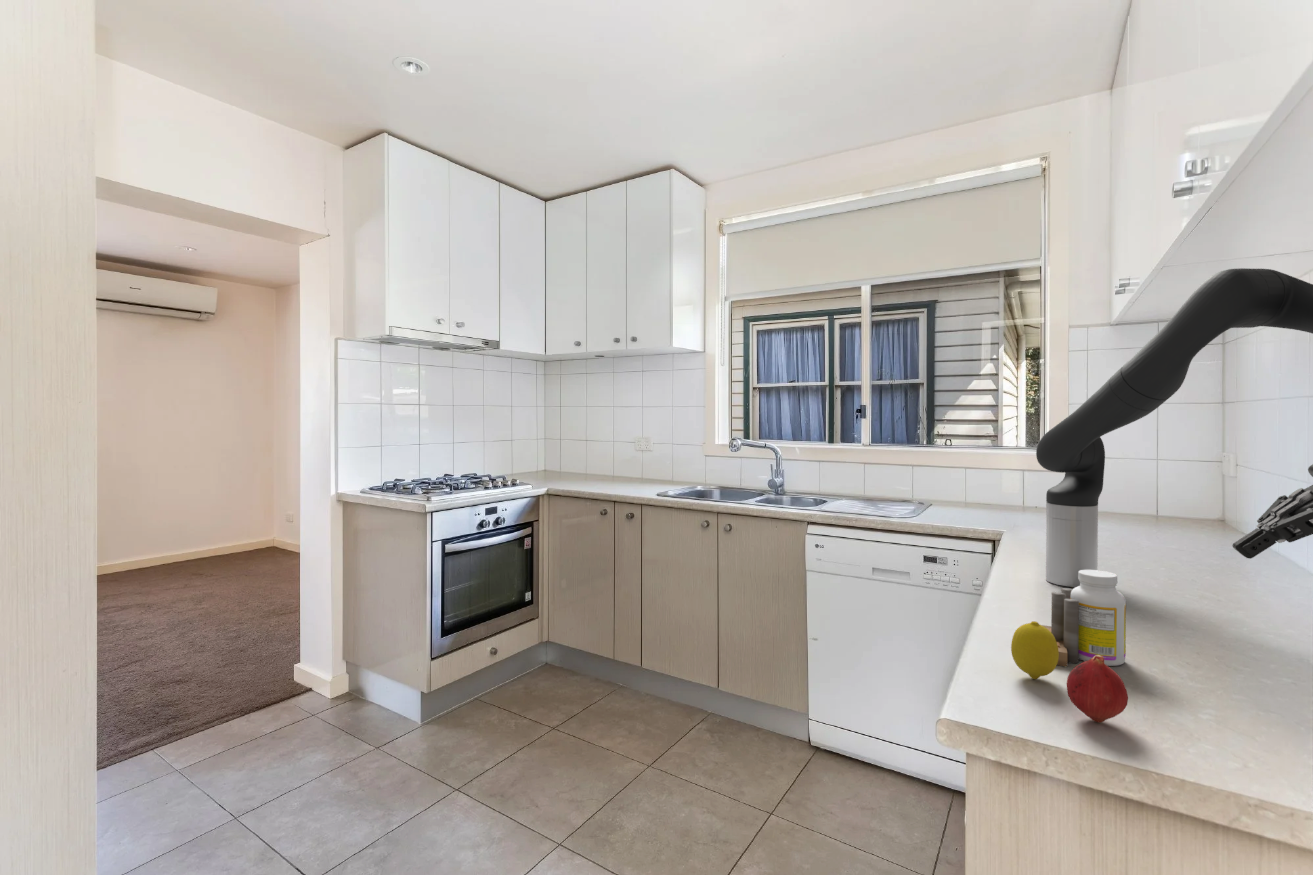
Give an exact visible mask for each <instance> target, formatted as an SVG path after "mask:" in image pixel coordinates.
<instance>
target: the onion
mask: <svg viewBox="0 0 1313 875" xmlns="http://www.w3.org/2000/svg"><path fill="white" fill-rule="evenodd" d="M1066 678H1067V679H1066V683H1065V684H1066V690H1067V691H1066V692H1067V696H1068V698H1069V700H1070V701H1071V704H1073V705H1074V706H1075V708H1076V709H1078V710H1079V711H1081V712H1082V713H1083V714H1084V715H1085V716H1087V717H1089V719H1091V720H1092V721H1093V722H1095V723H1099V724H1101V723H1103V722H1105V721H1107V720H1109V719H1112V718H1115V717H1117V716H1118V715H1120V714H1121V713H1122V712H1124V710H1126V708H1127V706H1128V703H1129V696H1128V691H1127V688H1126V686H1125V682H1124V681H1123V679H1122V678H1121V677H1120V675H1119V674H1118V673H1117V672H1116V671H1115V670H1114V669H1112V668H1111V666H1107V665H1106V664H1104V657H1103V656H1100V655H1096V656H1094V657H1093V658H1092V659H1090V660H1088V661H1082V662H1081V663H1079V664H1078V665H1076V666H1075V667H1073V668H1072V669H1071V671H1070V672H1069V673H1068V676H1067V677H1066Z"/></svg>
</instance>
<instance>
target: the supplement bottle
mask: <svg viewBox="0 0 1313 875" xmlns="http://www.w3.org/2000/svg"><path fill="white" fill-rule="evenodd" d="M1078 579H1079V581H1080V586H1078V587H1073V588H1072V589H1073V590H1072V591H1071V596H1070V599H1074V600H1078V601H1079V642H1078V660H1080V661H1082V662H1085V661H1088V660H1090V659H1092V658H1093V657H1094V656H1096V655H1100V656H1103V657H1104V664H1106V665H1107V666H1108V667H1112V666H1113V667H1114V666H1121V665H1123V664H1124V663H1125V662H1126V651H1127V650H1126V643H1127V642H1126V637H1127V636H1126V635H1127V634H1126V630H1127V629H1126V628H1127V626H1126V625H1127V624H1126V619H1127V618H1126V613H1127V612H1126V609H1127V605H1126V604H1127V601H1126V597H1125V596H1124V594H1123V593H1122V592H1120V591H1119V590H1117V589H1116V586H1117V584H1118V575H1117V574H1116V573H1114V572H1110V571H1107V570H1099V569H1097V570H1080V571H1079V572H1078Z"/></svg>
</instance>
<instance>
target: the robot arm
mask: <svg viewBox="0 0 1313 875" xmlns="http://www.w3.org/2000/svg"><path fill="white" fill-rule="evenodd" d="M1259 327H1269V328H1279V329H1287V330H1293V331H1295V330H1296V331H1300V332H1305V333H1310V334H1313V284H1312V283H1310V282H1307V281H1304V279H1299V278H1297V277H1294V276H1291V275H1290V274H1286V273H1283V272H1281V271H1278V270H1275V269H1271V268H1270V269H1269V268H1244V267H1243V268H1242V267H1241V268H1229V269H1225V270H1221V271H1218V272H1215V273H1214V274H1213V275H1211V276H1209V277H1208V278H1207V279H1205V280H1204V281H1203V282H1202V283H1201V284H1199V286H1198V287H1197V288H1196V289H1195V290H1194V291H1193V292H1192V293H1191V294H1190V296H1189V297H1188V298H1187V299H1186V301H1185V302H1184V303H1182V305H1181V306H1180V308H1179V309H1178V310H1177V311H1176V312H1175V313H1174V315H1173V316H1172V317H1171V318H1170V319H1169V320H1168V321H1167V323H1166V324H1164V325H1163V327H1162V328H1161V329H1160V330H1159V331H1158V332H1157V333H1156V334H1155V335H1154V336H1153V337H1151V339H1150V340H1149V341H1148V342H1147V343H1145V345H1144V346H1143V347H1142V348H1140V349H1139V351H1138V352H1136V353H1135V355H1133V356H1132V357H1131V358H1130V359H1129V360H1128V361H1126V363H1124V364H1123V365H1122V366H1121V367H1120V368H1119V369H1118V370H1117V371H1116V372H1115V373H1114V374H1113V375H1111V377H1110V378H1108V380H1107V381H1106V382H1105V383H1104V384H1103V385H1102V386H1101V387H1100V388H1099V389H1097V390H1096V391H1095V392H1094V393H1093V394H1092V395H1091V396H1090V397H1088V398H1087V399H1086V401H1084V402H1083V403H1082V404H1081V405H1080V406H1079V407H1078V408H1077V409H1076V410H1074V411H1073V412H1072V413H1070V414H1069V415H1068V416H1067V417H1065V418H1064V419H1063V420H1061V421H1060V422H1058V424H1056V425H1055V426H1054V427H1052V428H1050V429H1049V430H1048V431H1047V432H1046V433H1045V434H1044V435H1043V436H1042V437H1041V438H1040V440H1039V442H1038V444H1037V447H1036V451H1035V452H1036V453H1035V456H1036V460H1037V462H1038V464H1039V466H1040V467H1042V468H1043V469H1045V470H1047V471H1049V472H1054V473H1064V476H1063V479H1062V480H1061V481H1060V482H1059V483H1058V484H1056V485H1054V486H1052V487H1050V488H1049V489H1047V491H1046V497H1045V499H1046V500H1045V502H1046V504H1045V506H1046V508H1045V510H1046V514H1045V515H1046V516H1045V518H1046V519H1045V520H1046V522H1045V526H1046V527H1045V580H1046V582H1048V583H1051V584H1054V585H1057V586H1063V587H1067V588H1075V587H1078V586H1080V581H1079V579H1078V572H1079V571H1080V570H1098V560H1099V558H1098V557H1099V556H1098V555H1099V554H1098V553H1099V552H1098V550H1099V549H1098V548H1099V544H1098V543H1099V498H1100V497H1101V494H1102V492H1103V488H1104V478H1105V477H1104V474H1105V460H1106V451H1105V444H1104V442H1103V439H1102V438H1101V437H1103V436H1105V435H1107V434H1108V433H1111V432H1113V431H1115V430H1118V429H1121V428H1122V427H1125V426H1128V425H1129V424H1132V423H1134V422H1136V421H1138V420H1141V419H1142V418H1145V417H1146V416H1148V415H1150V414H1151V413H1152V412H1154V411H1155V410H1156V409H1158V408H1159V407H1160V406H1162V405H1163V404H1164V403H1165V402H1166V401H1167V400H1168V399H1170V398H1171V397H1172V396H1174V395H1175V394H1176V393H1177V392H1178V391H1179V389H1180V388H1181V387H1182V386H1183V383H1185V382H1184V381H1185V379H1186V377H1187V375H1188V371H1189V368H1190V365H1191V363H1192V361H1193V359H1194V358H1195V357H1196V356H1197V354H1199V352H1201V351H1202V349H1204V348H1205V347H1206V346H1207V345H1209V344H1210V343H1212V341H1214V340H1215V339H1216V338H1217V337H1219V336H1220V335H1221V334H1223V333H1225V332H1226V331H1228V330H1230V329H1239V328H1240V329H1242V328H1243V329H1244V328H1245V329H1246V328H1247V329H1249V328H1250V329H1251V328H1259ZM1307 470H1308V473H1309V475H1310V476H1311V477H1312V478H1313V463H1312V464H1311V465H1310V466H1308V468H1307ZM1256 522H1257V523H1258V524H1257V525H1256V527H1255V529H1253V530H1252V531H1250V532H1249V533H1247V534H1246V535H1244V536H1243V537H1241V538H1239V539H1238V540H1237V541H1235V542H1234V543H1232V548H1233V549H1234V550H1236V551H1237V552H1238V553H1239V554H1240V555H1241V556H1243V557H1244V558H1246V559H1249V560H1250V559H1254V558H1255V557H1256V556H1258V555H1260V554H1261V553H1262V552H1264V551H1266V550H1268V549H1269V548H1270V547H1272V546H1274V545H1276V544H1277V543H1278V544H1282V543H1285V542H1288V543H1294V542H1296V541H1298V540H1301V539H1304V538H1307V537H1308V536H1309V537H1310V536H1311V535H1313V484H1311V485H1309V486H1308V487H1306V488H1302V487H1300V488H1298V489H1297V490H1295V491H1293V492H1291V493H1290V494H1289V495H1288V496H1287V495H1286V494H1285V495H1281V496H1278V497H1277V499H1276V500H1275V501H1274V502H1273V503H1272V504H1271V505H1270V506H1269V507H1268V508H1267V509H1266V510H1265V512H1264V513H1262V514H1261V516H1260V517H1259V518H1258V519H1257V520H1256Z"/></svg>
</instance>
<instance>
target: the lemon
mask: <svg viewBox="0 0 1313 875" xmlns="http://www.w3.org/2000/svg"><path fill="white" fill-rule="evenodd" d="M1042 625H1043V624H1040V623H1039V622H1038V621H1031V622H1029V623H1023V624H1021V625H1020V626H1019V627H1017V628H1016V629H1015V631H1014V633H1013V635H1012V639H1011V644H1010V648H1011V656H1012V659H1013V661H1014V663H1015V665H1016V666H1017V667H1018V668H1019V669H1020V670H1021V672H1023V673H1025V674H1027V675H1028V676H1029V677H1030V678H1031V679H1032V680H1037V679H1039V678H1040V677H1044V676H1048V675H1049V674H1051V673H1052V672H1054V671H1055V669H1056V668H1057V666H1058V665H1057V663H1058V658H1059V651H1058V646H1057V642H1056V640H1055V637H1054V636H1053V634H1052V633H1051V632H1050V631H1049V630H1048V629H1047V628H1045V627H1044V626H1042Z"/></svg>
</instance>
